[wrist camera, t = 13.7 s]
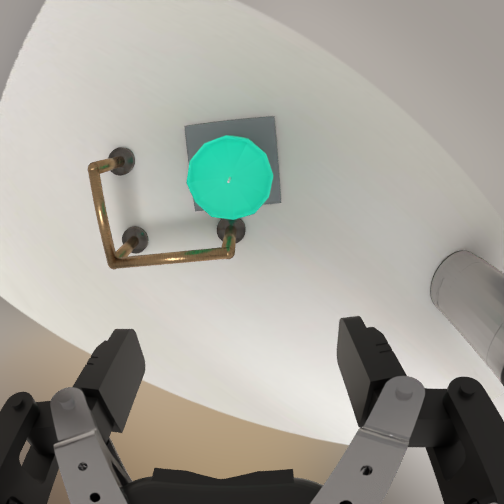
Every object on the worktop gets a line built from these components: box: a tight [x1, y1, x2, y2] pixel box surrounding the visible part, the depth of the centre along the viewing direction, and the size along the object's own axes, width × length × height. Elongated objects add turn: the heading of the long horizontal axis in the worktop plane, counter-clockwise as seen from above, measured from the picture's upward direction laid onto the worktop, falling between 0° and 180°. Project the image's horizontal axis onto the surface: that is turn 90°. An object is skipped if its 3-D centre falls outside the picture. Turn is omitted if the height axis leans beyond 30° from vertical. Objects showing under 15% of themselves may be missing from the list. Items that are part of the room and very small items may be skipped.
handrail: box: [88, 148, 245, 269], centre depth 29 cm, size 14×12×8 cm
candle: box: [187, 135, 274, 220], centre depth 25 cm, size 6×6×12 cm
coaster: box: [185, 116, 281, 211], centre depth 31 cm, size 9×9×1 cm
